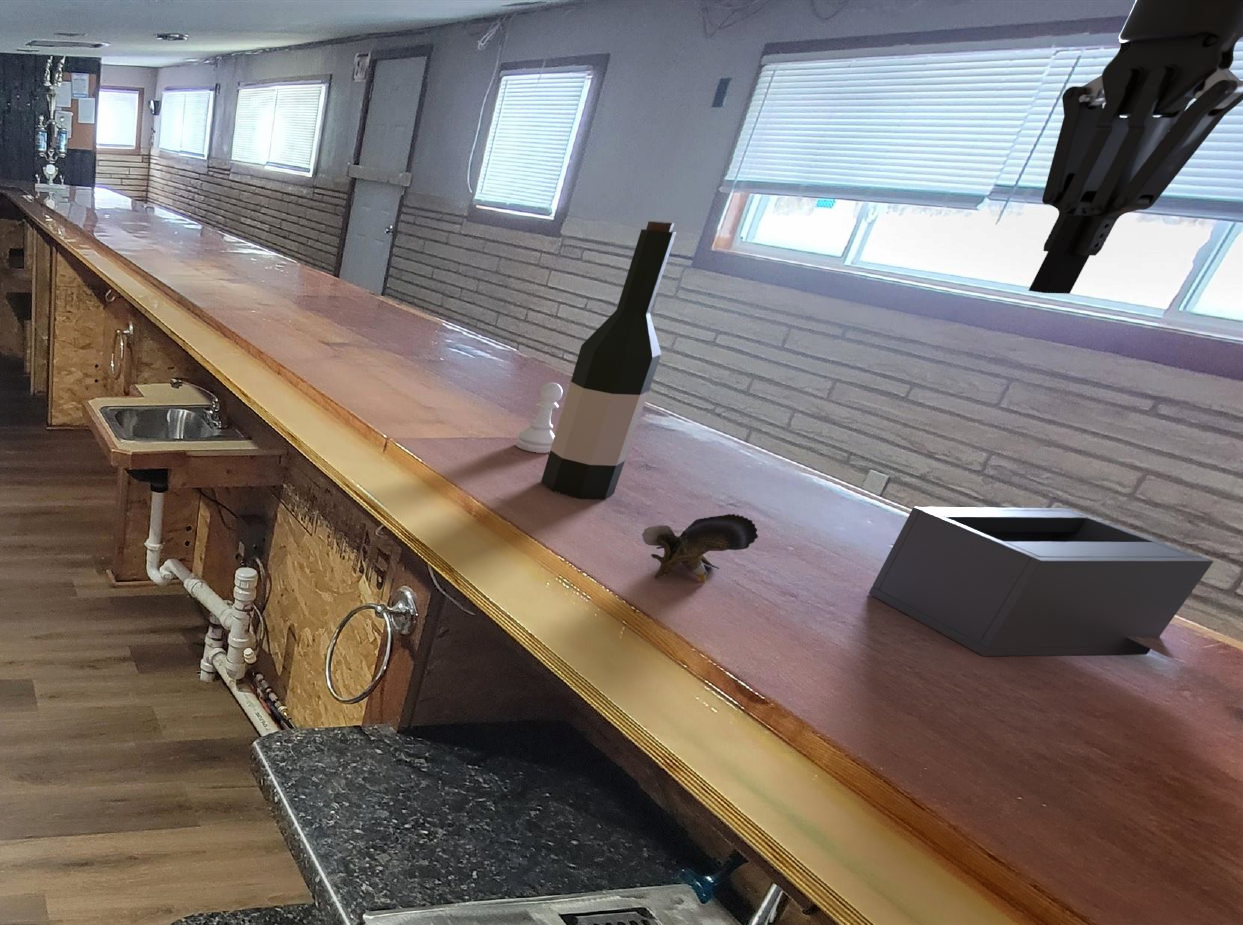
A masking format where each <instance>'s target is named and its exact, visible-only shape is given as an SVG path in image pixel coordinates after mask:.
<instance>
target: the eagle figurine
mask: <svg viewBox="0 0 1243 925" xmlns="http://www.w3.org/2000/svg"><path fill="white" fill-rule="evenodd" d="M757 532H758V528H757V527H756V524H755V523H753V520H752V519H749V518H748V517H744V515H739V514H736V513H728V514H724V515H714V516H709V517H702V518H701V517H700V518H697V519H695V520H694V521H693V522H692V523H691V524H690V525H688V527H687V528H685V530H683V531H682V533H681V534H680V535H676V534H675V532H674V530H672V528H671V527H670V526H669V525H662V524H661V525H654V526H648V527H647V528H644V530H643V532H642V534H641V536H642V540H643V542H644V543H645V545H647V546H653V547H656V548H655V549H656V550H659V549H664V550H663V551H664V552H663V556H660V555H659V554H656V553H651V554H650V556H651V558H652V559H656V560H657V561H659V563H660V566H659V569H658V571H657V572H656V574H655V576H654V579H656V580H657V579H659V578H662V577H664V576H665V575H669V574H670V573H671V572H672V571H673V570H674V569H675V568H676V567H677V566H678V565H679V564H681V565H682V566H684V568H687V569H689V570H690V571H692V573H693V574H694V575H695V576H696V577H697V578H698V579H700V581H701V583H702V584H705V583H706V577H707V575H708V572H707V570H706V568H705V566H704V565H707V566H710V567H712V568H715V569H717V570H720V567H719V566H717V565H715V564H713V563H712V562H711V561H709V560H708V558H707V556H706V555H705V554H706V553H708V552H724V551H725V552H726V551H729V550H730V551H741V550H745V549H748V548H749V547H750V545H751V544H753V543H755V540H757V539H758V538H759V536H758V535H759V534H758V533H757Z"/></svg>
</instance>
